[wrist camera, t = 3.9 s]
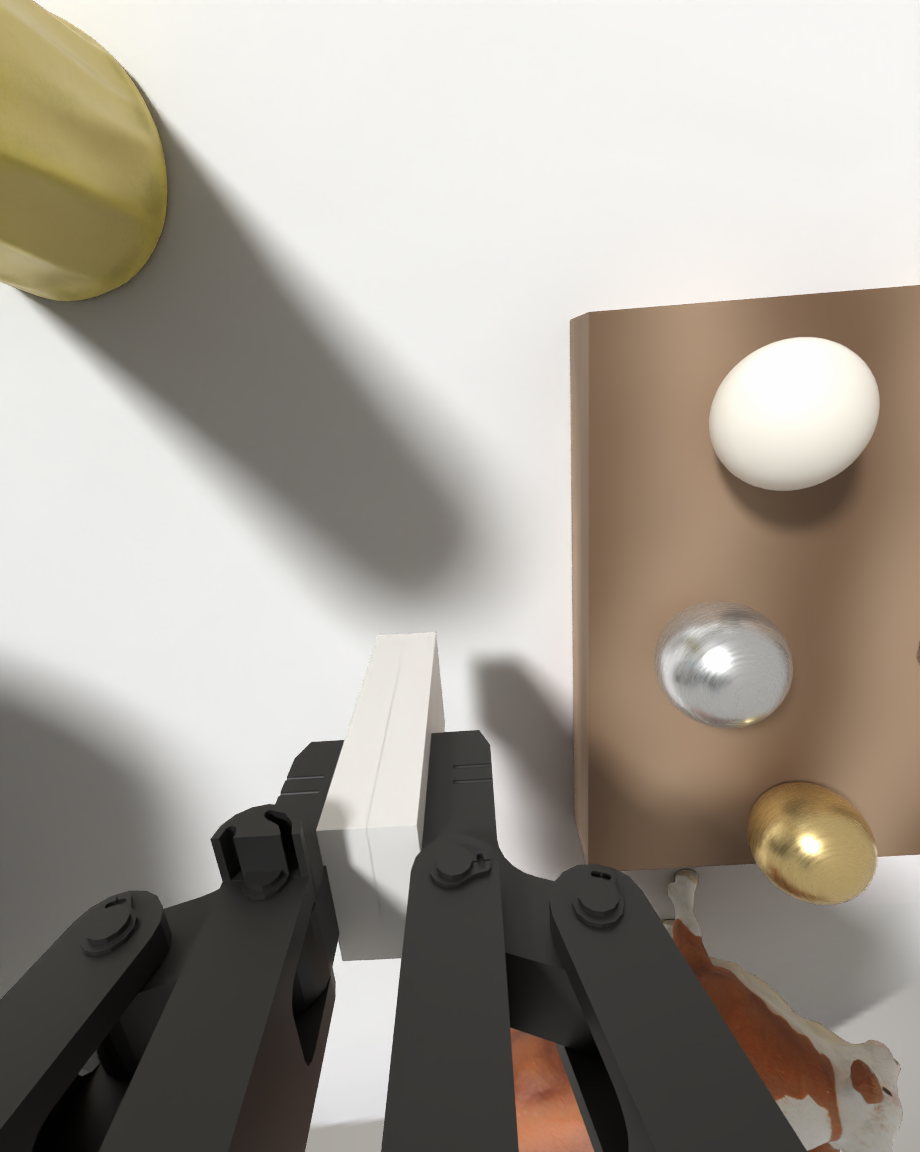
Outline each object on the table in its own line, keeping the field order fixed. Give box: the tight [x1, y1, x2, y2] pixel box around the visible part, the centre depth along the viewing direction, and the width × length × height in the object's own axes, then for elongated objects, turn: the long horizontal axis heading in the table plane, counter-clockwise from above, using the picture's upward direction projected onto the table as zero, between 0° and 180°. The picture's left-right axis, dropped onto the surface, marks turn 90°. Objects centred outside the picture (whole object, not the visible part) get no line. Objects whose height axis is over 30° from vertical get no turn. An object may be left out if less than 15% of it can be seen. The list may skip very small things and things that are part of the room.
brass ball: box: [747, 782, 877, 905], centre depth 17 cm, size 3×3×3 cm
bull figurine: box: [510, 869, 903, 1152], centre depth 20 cm, size 4×13×8 cm, turn 108°
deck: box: [570, 285, 920, 871], centre depth 17 cm, size 18×17×2 cm
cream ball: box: [709, 337, 880, 491], centre depth 13 cm, size 3×3×3 cm
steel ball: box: [654, 601, 793, 729], centre depth 15 cm, size 3×3×3 cm
